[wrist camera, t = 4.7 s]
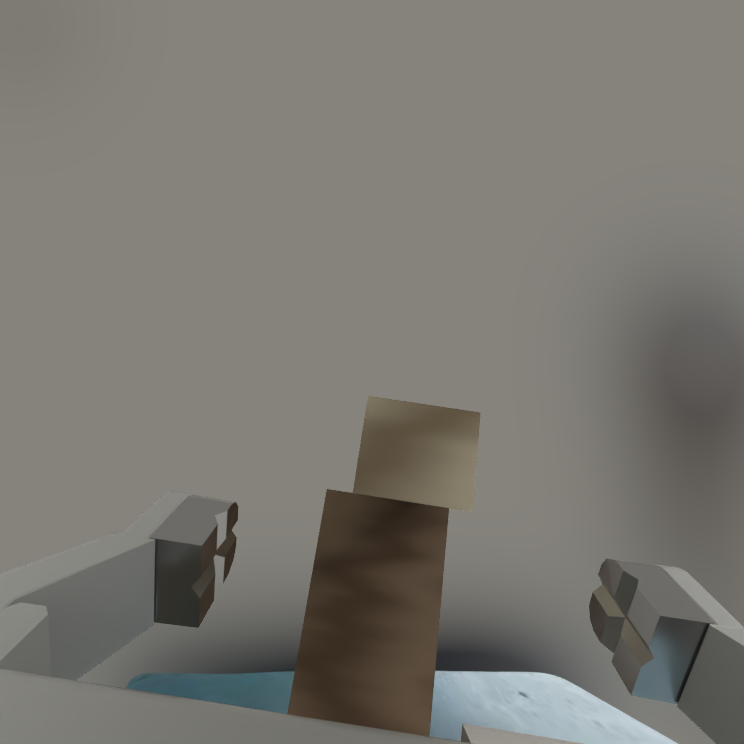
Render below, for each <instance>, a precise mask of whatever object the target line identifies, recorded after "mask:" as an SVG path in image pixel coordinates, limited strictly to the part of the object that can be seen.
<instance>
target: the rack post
mask: <svg viewBox="0 0 744 744" xmlns="http://www.w3.org/2000/svg"><path fill="white" fill-rule="evenodd" d="M448 513H449V508H445V507H438V506H432V505H426V504H419V503H413V502H406V501H400V500H393V499H387V498H381V497H374V496H368V495H361V494H355V493H349V492H342V491H336V490H329V489H327V492H326V497H325V503H324V510H323V515H322V520H321V526H320V532H319V538H318V543H317V549H316V554H315V560H314V566H313V572H312V577H311V583H310V589H309V594H308V600H307V606H306V612H305V617H304V623H303V629H302V634H301V640H300V646H299V652H298V657H297V663H296V669H295V674H294V680H293V686H292V692H291V697H290V703H289V709H288V714H290V715H296V716H302V717H309V718H315V719H321V720H327V721H334V722H340V723H346V724H353V725H359V726H365V727H372V728H378V729H384V730H391V731H397V732H403V733H410V734H416V735H422V736H429V734H430V722H431V711H432V699H433V688H434V676H435V664H436V652H437V641H438V630H439V618H440V606H441V594H442V583H443V571H444V560H445V548H446V537H447V525H448Z"/></svg>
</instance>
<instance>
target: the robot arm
mask: <svg viewBox="0 0 744 744" xmlns="http://www.w3.org/2000/svg"><path fill="white" fill-rule="evenodd" d="M237 520H238V505H237V503H236V502H232V501H226V500H220V499H214V498H209V497H202V496H197V495H191V494H186V493H178V492H166V493H165V494H164V495H162V496H161V497H160V498H159V499H158V500H157V501H156V502H155V503H154V504H153V505H152V506H150V507H149V508H148V509H147V510H146V511H145V512H144V513H143V514H142V515H141V516H140V517H139V518H137V519H136V521H134V522H133V523H132V524H131V525H130V526H129V527H128V528H127V529H126V530H125V531H123V532H122V533H121V534H117V533H112V534H109V535H106V536H104V537H101V538H98V539H95V540H93V541H90V542H87V543H84V544H82V545H79V546H76V547H73V548H71V549H68V550H65V551H63V552H60V553H57V554H54V555H51V556H49V557H46V558H43V559H40V560H38V561H35V562H32V563H29V564H26V565H24V566H21V567H18V568H16V569H13V570H10V571H7V572H5V573H2V574H0V744H473V743H467V742H460V741H454V740H448V739H441V738H435V737H429V736H422V735H416V734H410V733H403V732H397V731H391V730H384V729H378V728H372V727H365V726H359V725H353V724H346V723H340V722H334V721H327V720H321V719H315V718H309V717H302V716H296V715H290V714H283V713H277V712H271V711H264V710H258V709H252V708H246V707H239V706H233V705H227V704H220V703H214V702H208V701H201V700H195V699H189V698H183V697H176V696H170V695H164V694H157V693H151V692H145V691H139V690H132V689H126V688H120V687H113V686H107V685H101V684H94V683H88V682H82V681H76V680H77V679H78V678H80V677H81V676H83V675H84V674H85V673H87V672H88V671H90V670H91V669H92V668H94V667H95V666H97V665H98V664H100V663H101V662H102V661H104V660H105V659H107V658H108V657H109V656H111V655H112V654H114V653H115V652H117V651H118V650H119V649H121V648H122V647H123V646H125V645H126V644H128V643H129V642H130V641H132V640H133V639H135V638H136V637H138V636H139V635H140V634H142V633H143V632H145V631H146V630H147V629H149V628H150V627H152V626H153V625H154V622H156V623H164V624H172V625H180V626H188V627H197V628H198V627H199V626H200V624H201V622H202V620H203V618H204V617H205V615H206V613H207V611H208V609H209V608H210V606H211V604H212V603H213V601H214V589H215V588H217V587H218V586H220V585H222V584H223V583H224V581H225V579H226V577H227V575H228V573H229V571H230V567H231V565H232V562H233V558H234V553H235V548H236V536H235V535H234V533H233V532H232V528H233V526H234V525H235V523H236V522H237ZM598 575H599V577H600V580H601V582H602V585H601V586H600V587H599V588H597V589H596V590H595V591H594V592H593V593H592V597H591V601H590V605H589V608H590V620H591V623H592V627H593V630H594V632H595V634H596V636H597V637H598V639H599V641H600V642H601V643H602V644H603V645H604V646H606V647H607V648H608V649H609V650H610V651H612V652H613V658H612V663H613V665H614V667H615V668H616V670H617V672H618V674H619V675H620V677H621V678H622V680H623V682H624V684H625V686H626V687H627V689H628V691H629V692H630V694H631V695H632V696H637V697H643V698H648V699H653V700H659V701H664V702H669V703H675V704H678V705H677V707H678V708H679V709H680V710H681V711H682V712H684V714H686V715H687V716H688V717H689V718H690V719H691V720H692V721H693V722H694V723H695V724H696V725H697V726H698V727H699V728H700V729H701V730H702V731H703V732H704V733H705V734H707V735H708V736H709V737H710V738H711V739H712V740H713V741H714V742H715V743H716V744H744V627H743V626H742V625H741V624H740V623H739V622H738V621H737V620H735V619H734V618H733V617H732V616H731V615H730V614H729V613H728V612H727V611H726V610H725V609H724V608H723V607H722V606H721V605H720V604H719V603H718V602H717V601H716V600H715V599H714V598H713V597H712V596H711V595H710V594H709V593H708V592H707V591H706V590H705V589H704V588H703V587H702V586H701V585H700V584H698V582H696V580H695V579H694V578H692V577H691V576H690V575H689V574H688V573H687V572H686V571H684V570H682V569H680V568H678V567H671V566H661V565H650V564H643V563H635V562H627V561H619V560H612V559H606V560H605V561H604V562H603V564H602V565H601V568H600V571H599V574H598Z"/></svg>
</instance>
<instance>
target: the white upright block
mask: <svg viewBox="0 0 744 744" xmlns="http://www.w3.org/2000/svg"><path fill="white" fill-rule="evenodd" d="M461 742H467V743H473V744H581V743H575V742H569V741H563V740H557V739H551V738H545V737H539V736H533V735H527V734H521V733H515V732H509V731H503V730H497V729H491V728H485V727H479V726H473V725H467V724H462V737H461Z"/></svg>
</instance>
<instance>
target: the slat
mask: <svg viewBox="0 0 744 744" xmlns="http://www.w3.org/2000/svg"><path fill="white" fill-rule="evenodd" d="M479 423H480V413H479V412H472V411H465V410H459V409H452V408H446V407H439V406H432V405H426V404H419V403H412V402H406V401H399V400H392V399H386V398H379V397H372V396H368V399H367V405H366V412H365V419H364V425H363V431H362V438H361V444H360V451H359V457H358V463H357V470H356V476H355V483H354V489H353V493H355V494H361V495H368V496H374V497H381V498H387V499H393V500H400V501H406V502H413V503H419V504H426V505H432V506H439V507H446V508H452V509H459V510H465V511H472V512H473V510H474V495H475V481H476V465H477V451H478V437H479Z"/></svg>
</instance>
